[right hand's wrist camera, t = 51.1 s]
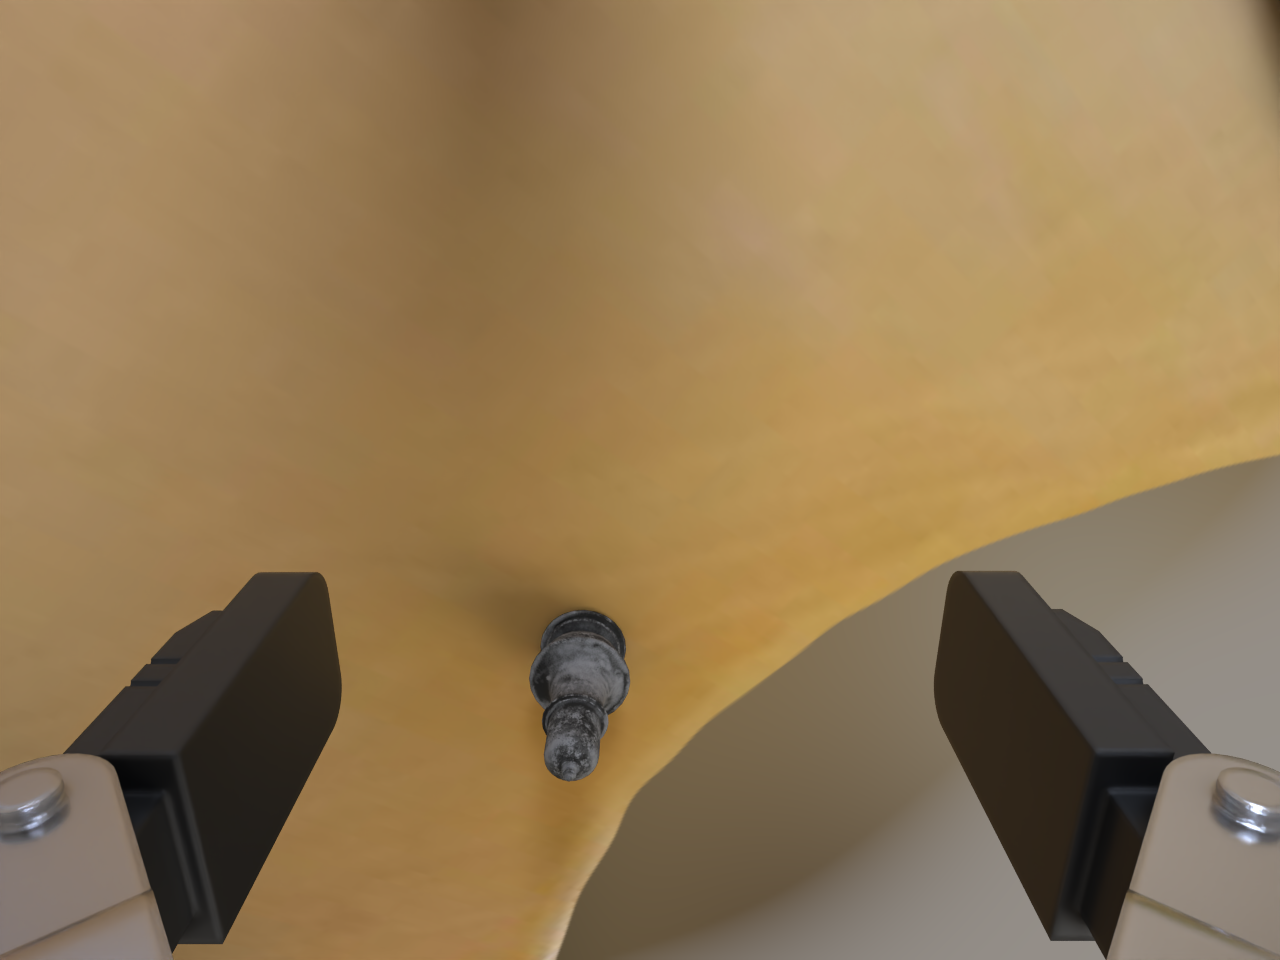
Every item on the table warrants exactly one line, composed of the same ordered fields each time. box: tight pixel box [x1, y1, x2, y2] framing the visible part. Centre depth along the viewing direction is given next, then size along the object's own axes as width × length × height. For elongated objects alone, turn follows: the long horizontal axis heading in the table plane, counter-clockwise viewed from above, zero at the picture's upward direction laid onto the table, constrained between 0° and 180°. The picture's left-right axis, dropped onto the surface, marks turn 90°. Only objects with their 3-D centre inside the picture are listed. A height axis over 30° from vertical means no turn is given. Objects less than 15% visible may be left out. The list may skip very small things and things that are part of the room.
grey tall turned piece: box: [529, 610, 630, 781], centre depth 49 cm, size 6×6×12 cm
